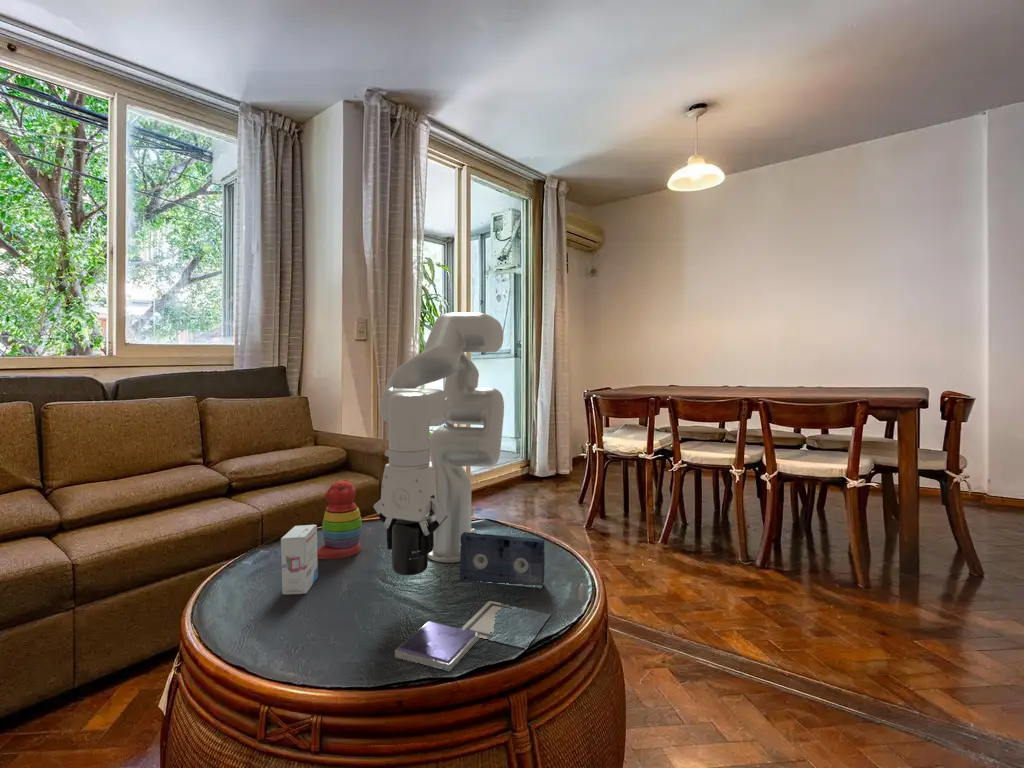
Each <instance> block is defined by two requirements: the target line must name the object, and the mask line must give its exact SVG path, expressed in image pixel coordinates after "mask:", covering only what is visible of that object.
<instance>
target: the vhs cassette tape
mask: <svg viewBox="0 0 1024 768" xmlns="http://www.w3.org/2000/svg"><path fill="white" fill-rule="evenodd" d="M461 544H462V545H461V547H460V548H461V549H460V555H461V557H460V562H459V569H460V570H459V572H460V573H459V579H460V581H463V580H467V581H466V582H472V581H479V582H478V583H482V582H492V583H505V584H506V583H509V584H523V585H541V586H542V585H543V583H544V584H545V566H546V565H545V564H546V563H545V559H546V557H545V539H543V538H541V539H540V538H532V537H523V536H522V537H521V536H520V537H519V536H511V535H499V534H486V533H478V532H477V533H468V532H464V533H463V534H462V535H461ZM480 581H482V582H480ZM543 586H544V585H543Z"/></svg>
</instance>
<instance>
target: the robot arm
mask: <svg viewBox="0 0 1024 768" xmlns="http://www.w3.org/2000/svg"><path fill="white" fill-rule="evenodd" d="M503 341H504V330H503V327H502V324H501V323H500V321H499V320H498V319H496V318H495V317H493V316H491V315H489V314H487V313H483V312H447V313H444V314H441V315H440V316H438V317H437V318H436V320H435V321H434V323H433V326H432V328H431V330H430V333H429V336H428V338H427V340H426V341H425V342H426V343H425V345H424V348H423V350H422V352H420V353H418V354H416V355H414V356H413V357H411V358H410V359H408V360H407V361H406V362H404V363H402V364H401V365H399V366H398V367H397V368H396V369H395V370H393V371H392V374H391V375H390V376H389V378H388V380H387V383H386V385H385V387H384V389H383V392H382V394H381V398H380V403H379V413H380V416H381V418H382V420H384V422H385V423H387V424H388V449H385V451H384V456H385V457H386V458H387V457H388V463H386V464H385V465H384V470H383V475H382V481H381V490H380V491H381V492H380V499H379V500H378V501H377V502H376V503H374V504H373V508H374V510H375V512H376V513H377V515H378V517H379V519H380V520H381V522H382V523H383V528H384V529H386V543H387V544H386V546H387V547H386V549H387V550H389V551H392V526H393V524H394V522H396V521H397V520H405V521H411V522H419V523H420V526H421V528H422V531H423V533H424V534H422V535H421V555H422V556H426V555H427V554H428V559H429V560H431V561H435V562H439V563H446V564H448V563H449V564H451V563H452V564H453V563H460V557H461V555H460V549H461V548H460V547H461V545H462V544H461V535H462V534H463V533H464V532H468V533H477V534H478V532H477V529H475V528H472V481H471V478H470V476H469V474H468V472H467V471H466V470H465V469H464V467H480V468H488V467H493V466H496V464H497V463H498V461H499V459H500V456H501V455H500V454H501V450H502V449H501V448H502V435H503V428H504V419H505V418H504V416H505V401H504V397H503V394H502V393H501V391H500V390H499V389H497V388H493V387H480V386H479V387H478V385H479V379H480V373H479V372H480V371H479V369H478V368H477V367H476V365H475V363H474V362H473V361H472V360H471V358H470V357H468V356H467V355H466V353H496V352H498V351H499V350H501V347H502V345H503ZM442 379H445V382H444V387H443V390H442V389H438V388H419V387H420V386H423V385H427V384H431V383H434V382H436V381H439V380H442ZM446 422H447V423H449V424H455V425H468V426H450V425H449V426H442V425H443V424H445V423H446ZM469 425H470V426H469ZM474 425H476V426H475V427H473V426H474ZM477 425H478V426H482V427H478V426H477ZM438 426H442V427H438ZM430 427H438V428H437V429H435V430H434V431H432V433H430ZM430 462H431V464H430Z"/></svg>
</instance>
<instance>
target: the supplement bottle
mask: <svg viewBox="0 0 1024 768" xmlns="http://www.w3.org/2000/svg"><path fill="white" fill-rule="evenodd" d="M422 534H424V533H423V531H422V528H421V526H420V523H419V522H411V521H405V520H397V521H396V522H394V524H393V526H392V549H391V570H392V571H393V573H394V574H397V575H398V576H399V575H400V576H403V577H404V576H405V577H406V576H409V577H410V576H411V577H412V576H417V575H420V574H422V573H424V572H425V571H426V570H427V569H428V564H429V563H428V562H429V560H428V559H429V558H428V554H427V555H426V556H422V555H421V535H422Z"/></svg>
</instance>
